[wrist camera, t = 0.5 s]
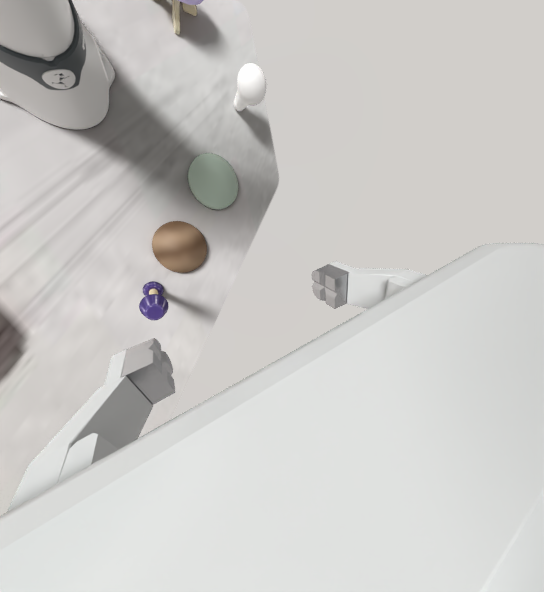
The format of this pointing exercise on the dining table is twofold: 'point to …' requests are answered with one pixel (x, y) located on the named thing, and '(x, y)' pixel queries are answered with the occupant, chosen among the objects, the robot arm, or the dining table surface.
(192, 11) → the toy table
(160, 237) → the walnut coaster
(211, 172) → the sage coaster
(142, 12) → the dining table surface
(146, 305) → the toy lamp
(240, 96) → the lightbulb
